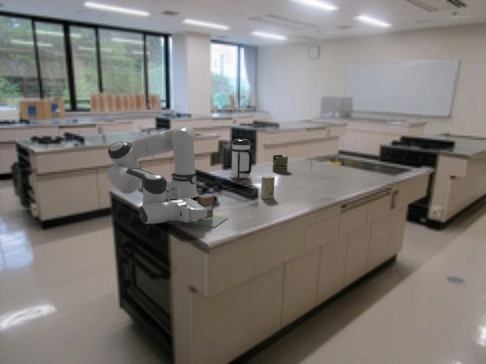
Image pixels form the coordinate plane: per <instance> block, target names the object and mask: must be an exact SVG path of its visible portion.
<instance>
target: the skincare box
mask: <svg viewBox="0 0 486 364" xmlns="http://www.w3.org/2000/svg"><path fill="white" fill-rule="evenodd" d="M275 179H276V178H275V176H272V175H265V176H262V177H261V189H260V190H261V191H260V198H262V199H263V200H270V199H274V196H275V181H276V180H275Z"/></svg>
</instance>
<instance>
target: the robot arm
mask: <svg viewBox="0 0 486 364" xmlns="http://www.w3.org/2000/svg"><path fill="white" fill-rule="evenodd" d="M196 139H197V133H196V131H195V130H194V128H193V127H191V126H189V125H183V126H182V125H181V126H178V127H175V128H171V129H168V130H164V131H160V132H156V133H151V134H148V135H145V136H144V135H143V136H141V137H138V138H136V139H134V140H132V141H130V142H128V141H127V142H126V141H116V142H114V143H112V144H111V145H110V146H109V147H108V149H107V154H108V156H109V158H110V160H111V161H112V164H113V166H111V167H110V168H109V169H108V170H107V173H106V174H107V175H106V176H107V180H108V181H109V182H110V184H111V185H112V186H113V187H114V188H115V189H116V190H117V191H119V192H120V193H122V194H127V195H130V194H133V193H134V192H136V191H137V190H138V189H139V188H140V186H141V184H142V205H141V206H140V207H139V208H138V216H139V219H140V221H141V222H142V223H143V224H147V225H152V224H153V225H154V224H162V223H166V222H168V221H171V222H174V221H177V222H179V221H180V222H183V223H188V222H189V220H197V219H202V218H205V217H206V216H207V211H208V210H212V206H210V205H207V206H206V207H203V206H201V205H200V204H198V200H193V199H191V198H194V197H197V196H198V195H199V194H198V191H197V172H196V155H195V149H194V148H195V145H194V143H195V141H196ZM169 152H172V153H173V159H174V172H173V173H171V174H170V175H169V176H170V177H171V179H170V180H169V181H167V179H166V177H164V176H163V175H161V174H156V173H152V172H149V171H147V170H143V169H142V168H141V165H140V164H139V161H138V159H143V158H144V159H145V158H150V157H154V156H158V155H161V154H165V153H166V154H167V153H169ZM170 199H177V200H170Z"/></svg>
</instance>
